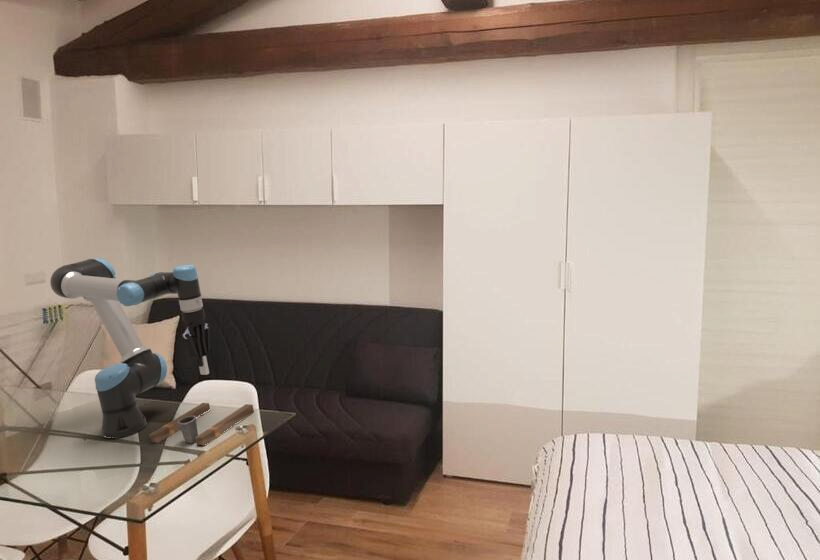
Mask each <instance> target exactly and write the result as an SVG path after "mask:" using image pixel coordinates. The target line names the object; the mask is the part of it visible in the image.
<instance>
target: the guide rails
mask: <svg viewBox="0 0 820 560" xmlns="http://www.w3.org/2000/svg"><path fill="white" fill-rule="evenodd" d="M209 409H210V410H211V406H210V402H202V403H200V404H198V405H196V406H195V407H193V408H191V409H190V410H188V411H187V412H185V413H183V414H181V415H180V416H178V417H176V418H174V419H173V420H171V421H169V422H168V423H166V424H165V425H163V426H161V427H160V428H158V429H157V430H155V431H153V432H151V433H149V439H150V440H149V441H150V443H151V444H159V443H160V442H162V441H163V440H165V439H167V438H168V437H170V436H172V435H174V434H175V433H177V432H178V431H181V429H180V427H179V425H178V423H177V422H178V421H179V420H180V419H182V418H184V417H187V416H196V417H198V416H199V415H201V414H203V413H204V412H206V411H208V410H209ZM253 412H254V413H255V410H254V405H253V404H250V403H248V404H244V405H242V406H241V407H239V408H238V409H236V410H234V411H233V412H232V413H230V414H229V415H226V416H225V417H224V418H223V419H221V420H219V421H218V422H216V423H215V424H213V425H211V426H210V427H208V428H207V429H206V430H204V431H202V432H201V433H200V434H199V433H198V436H196V437H195V439H196V441H195V443H196V446H197V445H205V444H207V443H208V444H210V443H211V442H213V441H215V440H216V439H217V438H218V436H219V435H220V434H222V433H223V432H224V431H226V430H227V429H229V428H230V427H231V426H233V425H234V424H235V423H237V422H239V421H240V420H242V419H243V420H245V419H246V418H248V417H249V416H251V415H252V414H254V413H253ZM244 418H245V419H244ZM243 420H242V421H243ZM239 423H240V422H239ZM233 427H234V426H233ZM230 429H231V428H230ZM230 429H229V430H230ZM227 431H228V430H227ZM227 431H226V432H227ZM224 433H225V432H224ZM224 433H223V434H224ZM223 434H222V435H223ZM220 436H221V435H220ZM220 436H219V437H220ZM216 437H217V438H216ZM215 438H216V439H215ZM212 440H213V441H212ZM210 441H211V442H210ZM209 442H210V443H209ZM208 444H207V445H208ZM205 446H206V445H205Z"/></svg>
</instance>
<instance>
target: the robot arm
mask: <svg viewBox="0 0 820 560" xmlns="http://www.w3.org/2000/svg"><path fill="white" fill-rule="evenodd" d="M49 285H50V288H51V290H52V291H53V292H54V293H55V294H56V295H57V296H59V297H61V298H65V299H78V298H79V297H81V298H83V300H84V301H86V302H90V303H91V305H92V306H93V308H94V310H95V311H96V314H97V315H98V317H99V319H100V321H101V323H102V324H103V326H104V328H105V330H106V332H107V334H108V335H109V337H110V338H111V341H112V342H113V344H114V346H115V348H116V349H117V351H118V353H119V355H120V357H121V361H120V363H115V364H112V365H109V366H107V367H105V368H103V369H101V370H99V371H98V372H97V374H95V377H94V382H95V390H96V392H97V395H98V396H97V397H98V400H99V405H100V408H101V412H102V420H101V422H102V425H101V429H100V431H101V435H102V434H103V436H106V437H111V438H112V437H114V438H115V437H121V438H124V437H128V436H132V435H134V434H136V433H139V432H140V431H142V430H143V429H144V428H146V426H147V425H148V422H147V419H146V416H145V415H144V413H143V412H142V410H141V409H140V407H139V405H138V403H137V398H136V396H137V395H139V394H142V393H143V392H146V391H147V390H150V389H152V388H156V387H157V386H158V385H159V384H161V383H163V382H164V381H165V380H166V377H167V372H168V366H167V363H166V360H165V358H164V357H163V356H162V355H160V354H159V353H155V352H153V351H152V349H151V348H150V347H146V346H144V344H143V341H141V338H140V337H139V335H138V332H137V331H136V329H135V328H134V326H133V324H132V322H131V321H130V319H129V317H128V315H127V313H126V312H125V310H124V308H123V306H124V307H132V306H137V305H139V304H142V303H145V302H147V301H151V300H154V299H156V298H159V297H162V296H165V295H170V294H172V295H174V294H177V296H178V297H177V298H178V304H179V306H180V307H179V309H180V311H181V317H182V322H183V323H184V324H185V329H184V330H185V331H184V333H181V335H180V336H181V338H182V340H183V341H184V343H185V345H186V347H187V350H188V353H189V355H190V358H195V359H196V363H197V366H198V369H199V372H200V373H199V374H200V375H203V376H205V375H206V376H207V375H209V374H210V368H209V365H208V364H209V359H208V356H209V355H210V352H211V329H212V324H211V323H206V321H205V319H206V313H205V309H204V308H203V307H204V304H203V300H202V299H203V298H202V293H201V288H200V281H199V275H198V272H197V269H196V266H195V265H194V264H185V265H184V264H183V265H179V266H175V267H174V268H173V269H172V271H171V272H170V271H169V272H165V271H161V272H160V271H159V272H154V273H152V274H151V275H149V276H148V277H145V278H144V277H143V278H140V279H136V280H132V279H123V278H117V277H116V271H115V269H114V267H113V265H112V264H111V263H110V262H109V261H107V260H106V259H102V258H100V257H96V258H89V259H86V260H82V261H77V262H74V263H70V264H66V265H62V266H60V267H58V268H57V269H56V270H54V272H53V273H52V274H51V277H50V282H49ZM121 304H122V305H123V306H122V305H121ZM103 436H102V437H103ZM115 439H116V438H115Z"/></svg>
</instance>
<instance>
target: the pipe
mask: <svg viewBox="0 0 820 560" xmlns="http://www.w3.org/2000/svg"><path fill="white" fill-rule="evenodd" d="M177 423H178V425H179V427H180V432H181V434H182V436H183V439H184V441H185V443H186V444H194V443H196V439H195V437H196V436H198V435H199V433H198V425H197V419H196V416H187V417H184V418H182V419H180V420H179V421H178V422H177ZM193 442H194V443H193Z"/></svg>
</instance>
